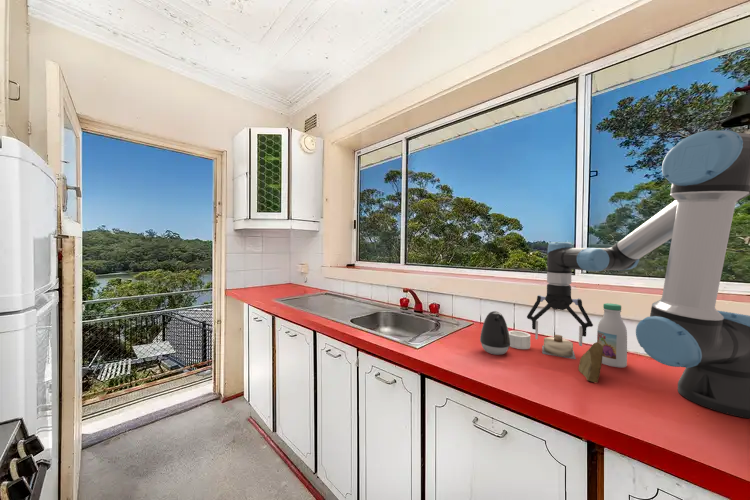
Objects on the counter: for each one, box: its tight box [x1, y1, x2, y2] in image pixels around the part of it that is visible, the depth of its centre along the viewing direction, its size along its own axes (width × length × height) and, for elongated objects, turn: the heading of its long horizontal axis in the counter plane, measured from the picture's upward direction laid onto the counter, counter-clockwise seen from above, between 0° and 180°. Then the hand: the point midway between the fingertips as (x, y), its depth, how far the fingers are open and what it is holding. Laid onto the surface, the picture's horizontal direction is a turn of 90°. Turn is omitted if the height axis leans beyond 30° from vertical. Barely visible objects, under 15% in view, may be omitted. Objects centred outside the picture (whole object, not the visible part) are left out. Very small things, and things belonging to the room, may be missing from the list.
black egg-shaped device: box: [479, 310, 510, 356], centre depth 104 cm, size 10×10×15 cm
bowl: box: [508, 330, 531, 350], centre depth 111 cm, size 8×8×5 cm
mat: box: [541, 344, 577, 360], centre depth 104 cm, size 10×10×1 cm
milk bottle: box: [596, 302, 628, 368], centre depth 95 cm, size 8×8×20 cm
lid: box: [543, 334, 574, 358], centre depth 104 cm, size 9×9×6 cm
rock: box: [578, 341, 603, 384], centre depth 86 cm, size 11×9×10 cm
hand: (557, 341), depth 104 cm, fingers open, 13 cm apart
